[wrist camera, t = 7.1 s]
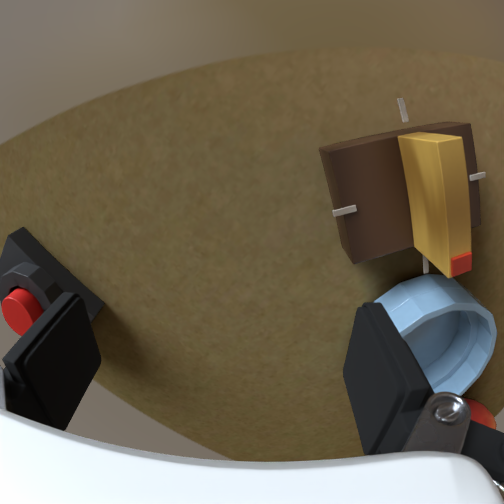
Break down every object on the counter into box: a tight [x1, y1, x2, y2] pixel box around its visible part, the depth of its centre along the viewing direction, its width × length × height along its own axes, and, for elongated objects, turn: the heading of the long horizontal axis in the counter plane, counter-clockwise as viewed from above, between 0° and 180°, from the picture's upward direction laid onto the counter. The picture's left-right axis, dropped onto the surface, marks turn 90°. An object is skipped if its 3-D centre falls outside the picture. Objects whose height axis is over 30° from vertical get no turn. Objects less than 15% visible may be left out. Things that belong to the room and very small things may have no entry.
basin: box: [375, 274, 497, 396], centre depth 22 cm, size 12×12×5 cm
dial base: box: [319, 98, 486, 274], centre depth 18 cm, size 11×11×3 cm
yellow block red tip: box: [398, 132, 472, 278], centre depth 14 cm, size 7×2×5 cm, turn 17°
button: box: [2, 288, 44, 336], centre depth 19 cm, size 4×4×2 cm
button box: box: [0, 227, 105, 323], centre depth 22 cm, size 10×6×4 cm, turn 47°
